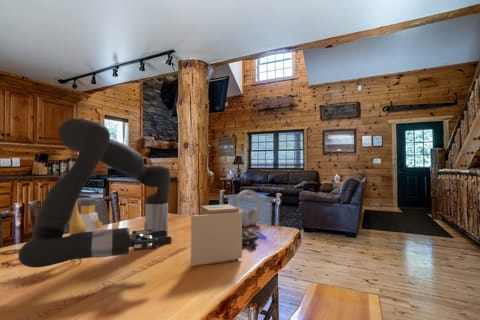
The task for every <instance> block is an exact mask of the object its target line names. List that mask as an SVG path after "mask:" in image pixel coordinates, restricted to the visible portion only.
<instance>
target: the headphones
mask: <svg viewBox="0 0 480 320" xmlns="http://www.w3.org/2000/svg"><path fill="white" fill-rule="evenodd" d="M248 194H249V195H252V197H254V199H255V200H256V202H257V208H255V207H251V208H250V209H248V210H247V212H246V211H245V209H242V208H239V212H242V226H243V227H242V228H246V227H247V226H248V225H249V226H256V225H257V223H259V221H260V220H261V219H260V218H261V215H260V214H261V211H262V201H261V197H260V195H259V193H258V192H256V191H255V190H251V189H245V190H244V189H243V190H242V191H240V192H239V193H238V194H237V195H236V196H235V198H234V201H233V204H232V206H234V207H237V205H238V203H239V202H240V201H241V199H242V198H243V197H244V196H245V195H248ZM237 208H238V207H237Z"/></svg>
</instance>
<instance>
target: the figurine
mask: <svg viewBox="0 0 480 320" xmlns="http://www.w3.org/2000/svg"><path fill="white" fill-rule="evenodd" d="M258 240H259V236H258V235H257V234H256V233H254V232H251V231H250V230H246V231H245V230H243V229H242V245H245V244H247V243H248V244H250V245H251V250H255V249H257V247H256V244H255V242H256V241H258Z"/></svg>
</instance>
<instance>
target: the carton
mask: <svg viewBox="0 0 480 320" xmlns="http://www.w3.org/2000/svg"><path fill="white" fill-rule="evenodd" d="M239 209H240V208H239V207H234V206H233V205H231V204H228V203H225V204H212V205H200V215H207V214H221V213H234V212H239ZM232 261H239V258H238V259H232V260H226V261H219V262H213V263H207V265H215V264H220V263H226V262H232Z"/></svg>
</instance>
